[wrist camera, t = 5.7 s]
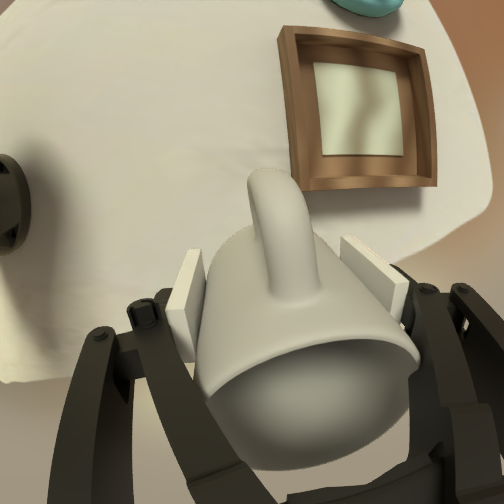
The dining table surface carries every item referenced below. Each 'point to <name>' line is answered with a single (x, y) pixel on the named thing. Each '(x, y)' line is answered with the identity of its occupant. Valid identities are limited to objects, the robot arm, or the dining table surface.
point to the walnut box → (357, 110)
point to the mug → (296, 341)
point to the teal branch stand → (370, 6)
